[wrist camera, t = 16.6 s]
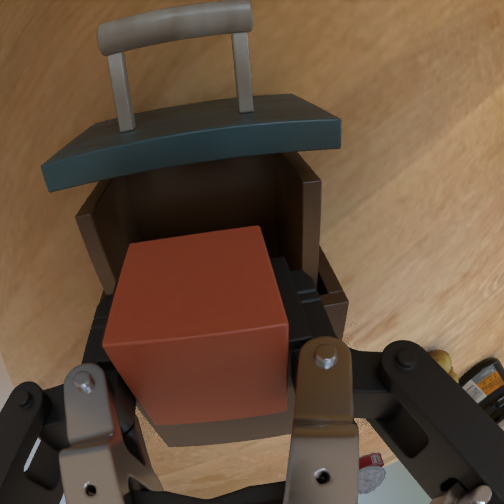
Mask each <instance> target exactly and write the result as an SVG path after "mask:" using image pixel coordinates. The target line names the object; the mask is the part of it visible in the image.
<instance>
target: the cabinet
mask: <svg viewBox="0 0 504 504" xmlns="http://www.w3.org/2000/svg"><path fill="white" fill-rule="evenodd" d="M317 291H318V293H319V296H320V298H321V301H322V303H323V305H324V307H325V310H326V312H327V315H328V317H329V320H330V322H331V324H332V327H333V329H334V332H335V334H336V336H337V338H338V339H339V340H341V341H342V337H343V332H344V326H345V321H346V315H347V310H348V304H349V301H348V299H347V297H346V295H345V293H344V292H343V289H342V287H341V285H340V283H339V281H338V279H337V277H336V275H335V273H334V272H333V270H332V268H331V266H330V264H329V262H328V260H327V258H326V256H325V254H324V253H323V251H322V249H321V247H320V245H319V260H318V277H317ZM105 295H106V293H105V291H104V290H103V293H102V296H101V299H100V302H101V301H102V299H103V298H104V297H105ZM295 397H296V395H295V392H294V388H293V387H290V388H288V404H287V411H285V412H280V413H274V414H268V415H261V416H254V417H247V418H240V419H232V420H223V421H213V422H202V423H189V424H173V425H155V423H154V422H153V421H152V419H151V418H150V417H149V415H148V414H147V413H146V411H145V410H144V409H143V407H142V406H141V405H140V403H136V406H137V407H138V409H139V410H140V411H141V413H142V414H143V415H144V417H145V418H146V419H147V421H148V422H149V423H150V424H151V426H152V427H153V428H154V429H155V431H156V432H157V433H158V434H159V436H160V437H161V438H162V439H163V441H164V442H165V443H166V444H167V445H168V446H169V447H184V446H200V445H212V444H223V443H232V442H241V441H248V440H255V439H262V438H269V437H275V436H281V435H286V434H292V425H293V418H294V407H295Z"/></svg>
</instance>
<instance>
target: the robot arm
mask: <svg viewBox="0 0 504 504" xmlns="http://www.w3.org/2000/svg"><path fill="white" fill-rule="evenodd" d="M270 262H271V265H272V268H273V272H274V275H275V279H276V282H277V285H278V289H279V292H280V296H281V299H282V302H283V306H284V309H285V313H286V316H287V320H288V323H289V351H288V388H290V387H293V388H294V392H295V395H296V397H295V407H294V418H293V425H292V434H291V443H290V452H289V460H288V468H287V476H286V481H281V482H275V483H269V484H262V485H255V486H248V487H246V488H243V489H240V490H237V491H234V492H231V493H228V494H225V495H222V496H219V497H216V498H212V499H200V498H195V497H189V496H185V495H180V494H176V493H171V492H167V491H164V489H163V487H162V484H161V482H160V480H159V478H158V477H157V475H156V474H155V472H154V470H153V468H152V466H151V463H150V459H149V456H148V453H147V449H146V446H145V442H144V439H143V435H142V431H141V428H140V424H139V420H138V417H137V416H136V414H135V409H136V403H139V402H138V400H137V399H136V398H135V396H134V395H133V393H132V392H131V390H130V389H129V387H128V386H127V384H126V383H125V381H124V380H123V378H122V377H121V375H120V374H119V372H118V371H117V369H116V368H115V366H114V365H113V363H112V361H111V360H110V358H109V357H108V355H107V353H106V352H105V350H104V348H103V347H102V342H103V338H104V334H105V329H106V325H107V321H108V317H109V313H110V310H111V306H112V302H113V298H114V295H115V291H116V288H117V284H118V281H119V279H117V281H116V284H115V287H114V290H113V294H110V295H105V297H104V298H103V299H102V301H101V302H100V303H99V305H98V306H97V309H96V312H95V316H94V320H93V323H92V326H91V328H92V329H91V330H90V333H89V337H88V341H87V344H86V348H85V352H84V356H83V360H82V364H81V365H78V366H76V367H75V368H73V369H72V370H71V371H70V372H69V373H68V375H67V376H66V378H65V381H64V384H62V385H59V386H56V387H53V388H50V389H47V390H42V389H41V388H40V387H39V386H38V385H37V384H36V383H34V382H30V381H29V382H23V383H21V384H20V385H18V386H17V387H16V388H15V389H14V390H13V391H12V393H11V394H10V396H9V398H8V400H7V401H6V403H5V405H4V407H3V409H2V411H1V412H0V504H59V503H60V501H61V498H62V496H63V493H64V495H65V500H66V504H358V482H359V430H358V425H357V423H355V421H354V418H366V420H367V421H368V422H369V423H370V424H371V426H372V427H373V428H374V429H375V431H376V432H377V433H378V434H379V436H380V437H381V438H382V439H383V441H384V442H385V443H386V444H387V445H388V447H389V448H390V449H391V450H392V452H393V453H394V454H395V455H396V457H397V458H398V459H399V460H400V461H401V463H402V464H403V465H404V466H405V468H406V469H407V470H408V471H409V472H410V474H411V475H412V476H413V477H414V479H415V480H416V481H417V482H418V483H419V485H420V486H421V487H422V488H423V489H424V491H425V492H426V493H427V494H428V495H429V497H430V498H431V499H432V501H431V502H430V504H504V431H503V430H502V429H501V428H500V427H499V425H498V424H497V423H496V422H495V421H494V420H493V419H492V418H491V417H490V416H489V415H488V414H487V413H486V412H485V411H484V410H483V409H482V407H481V406H480V405H479V404H478V403H477V402H476V401H475V400H474V399H473V398H472V397H471V396H470V395H469V394H468V393H467V392H466V391H465V390H464V389H463V388H462V387H461V386H460V385H459V384H458V383H457V382H456V381H455V380H454V379H453V378H452V377H451V376H450V375H449V374H448V373H447V372H446V371H445V370H444V369H443V368H442V367H441V366H440V365H439V364H438V363H437V362H436V361H435V360H434V359H433V358H432V357H431V356H430V355H429V354H428V353H427V352H426V351H425V350H424V349H423V348H422V347H421V346H419V345H418V344H416V343H414V342H411V341H406V340H399V341H395V342H392V343H390V344H389V345H387V346H386V347H385V349H384V350H383V352H367V351H358V350H354V349H351V348H349V347H348V346H347V345H346V344H345V343H344V342H342V341H341V340H339V339H338V338H337V336H336V334H335V332H334V329H333V327H332V324H331V322H330V320H329V317H328V315H327V312H326V310H325V307H324V305H323V303H322V301H321V298H320V296H319V293H318V291H317V288H316V286H315V284H314V281H313V279H312V277H310V276H309V275H308V274H307V273H306V272H305V271H303V270H302V269H299V270H292V271H290V270H289V267H288V264H287V262H286V259H285V257H284V256H283V257H276V258H270ZM37 438H39V439H41V442H40V444H39V446H38V449H37V450H36V453H35V455H34V457H33V459H32V461H31V463H30V466H29V468H28V469H27V470H26V471H25V472H24V465H25V463H26V461H27V459H28V457H29V455H30V452H31V450H32V448H33V446H34V444H35V442H36V440H37Z"/></svg>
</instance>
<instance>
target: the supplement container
mask: <svg viewBox="0 0 504 504" xmlns="http://www.w3.org/2000/svg"><path fill="white" fill-rule="evenodd" d="M458 384H459V385H460V386H461V387H462V388H463V389H464V390H465V391H466V392H467V393H468V394H469V395H470V396H471V397H472V398H473V399H474V400H475V401H476V402H477V403H478V404H479V405H480V406H481V407H482V409H483V410H484V411H485V412H486V413H487V414H488V415H489V416H490V417H491V418H492V419H493V420H494V421H495V422H496V423H497V424H498V425H499V427H500V428H501V427H503V426H504V368H503V366H502V365H501V362H500V361H499V360H498V359H497V358H489V359H486V360H484V361H482V362H481V363H479V364H478V365H476V366H475V367H473V368H472V369H471V370H470V371H469V372H467V373H466V374H465V375H464V376H463V377H462V378H461V380H460V381H459V382H458Z"/></svg>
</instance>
